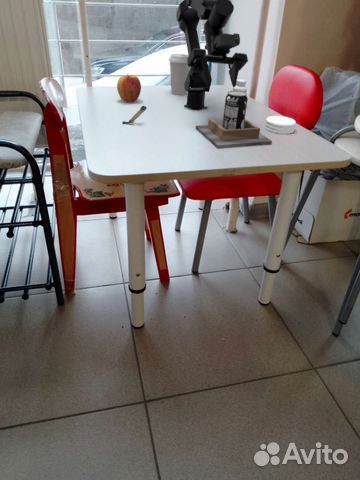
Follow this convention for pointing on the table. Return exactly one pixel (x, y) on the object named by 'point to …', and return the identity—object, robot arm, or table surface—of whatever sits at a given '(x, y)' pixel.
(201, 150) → the table surface
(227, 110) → the beverage can
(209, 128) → the loading bay
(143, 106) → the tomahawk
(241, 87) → the supplement bottle
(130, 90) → the apple
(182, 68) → the coffee cup
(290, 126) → the white ridged disc
